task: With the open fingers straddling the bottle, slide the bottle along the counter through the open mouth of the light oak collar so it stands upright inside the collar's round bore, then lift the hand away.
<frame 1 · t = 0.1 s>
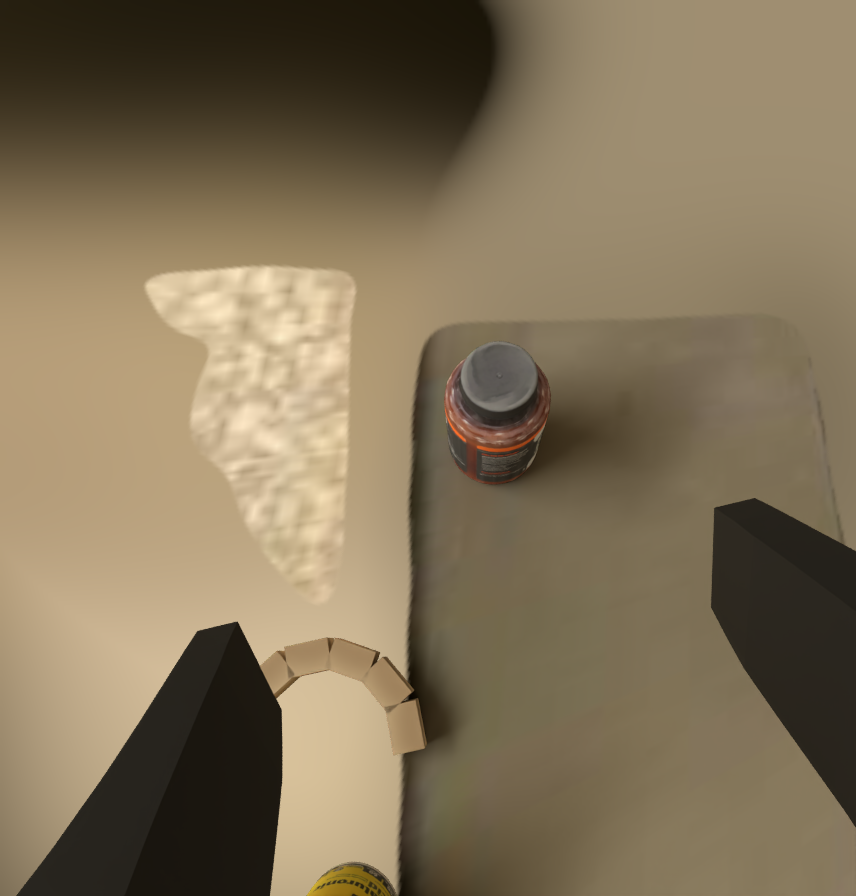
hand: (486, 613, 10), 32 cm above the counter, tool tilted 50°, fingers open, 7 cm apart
oak collar: (327, 741, 39), on the counter
supplement bottle 2: (492, 444, 44), on the counter
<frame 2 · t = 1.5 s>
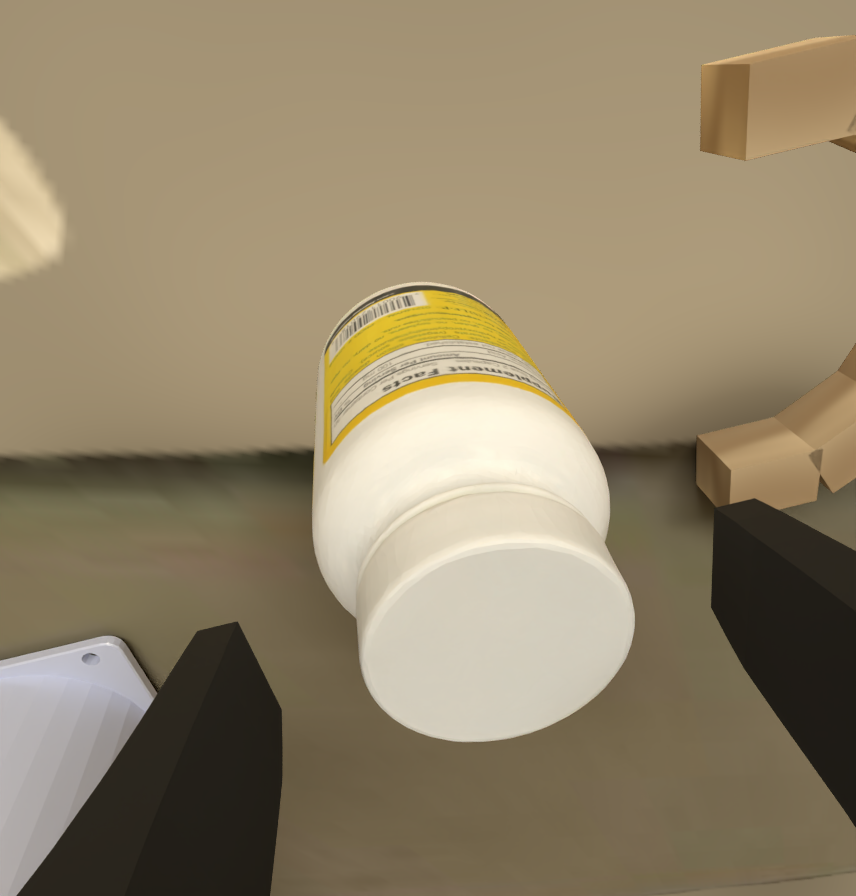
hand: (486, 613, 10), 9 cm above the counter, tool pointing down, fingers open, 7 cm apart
supplement bottle: (419, 372, 18), on the counter
oak collar: (745, 298, 18), on the counter
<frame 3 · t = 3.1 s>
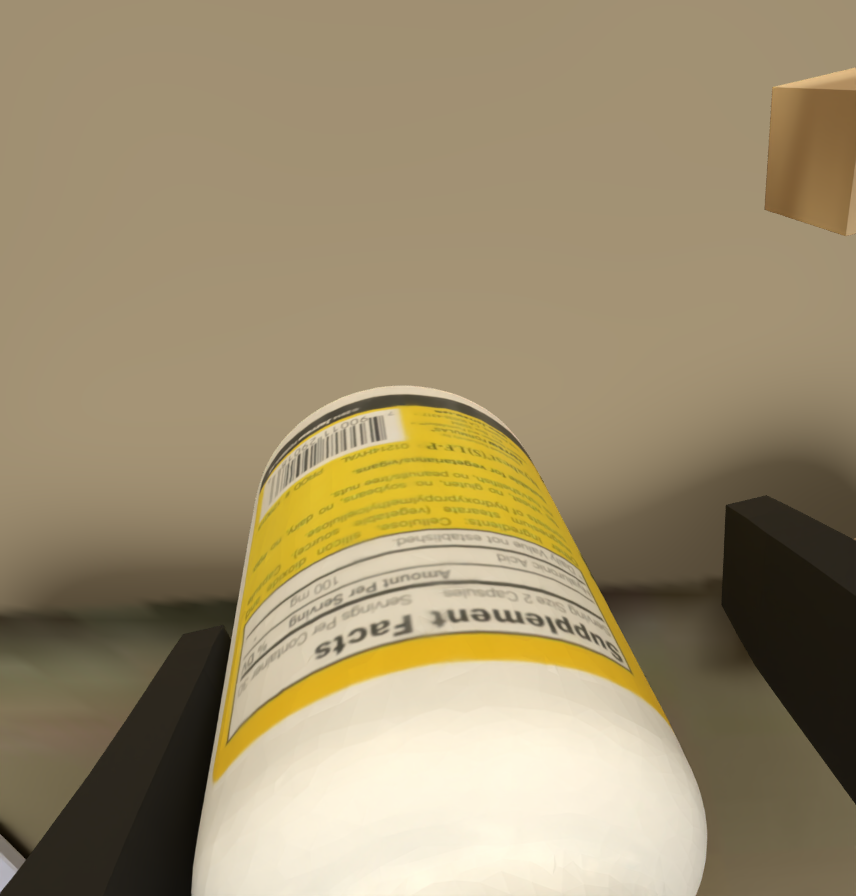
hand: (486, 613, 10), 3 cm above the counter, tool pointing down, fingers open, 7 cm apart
supplement bottle: (399, 496, 13), on the counter, touching gripper
oak collar: (815, 403, 13), on the counter
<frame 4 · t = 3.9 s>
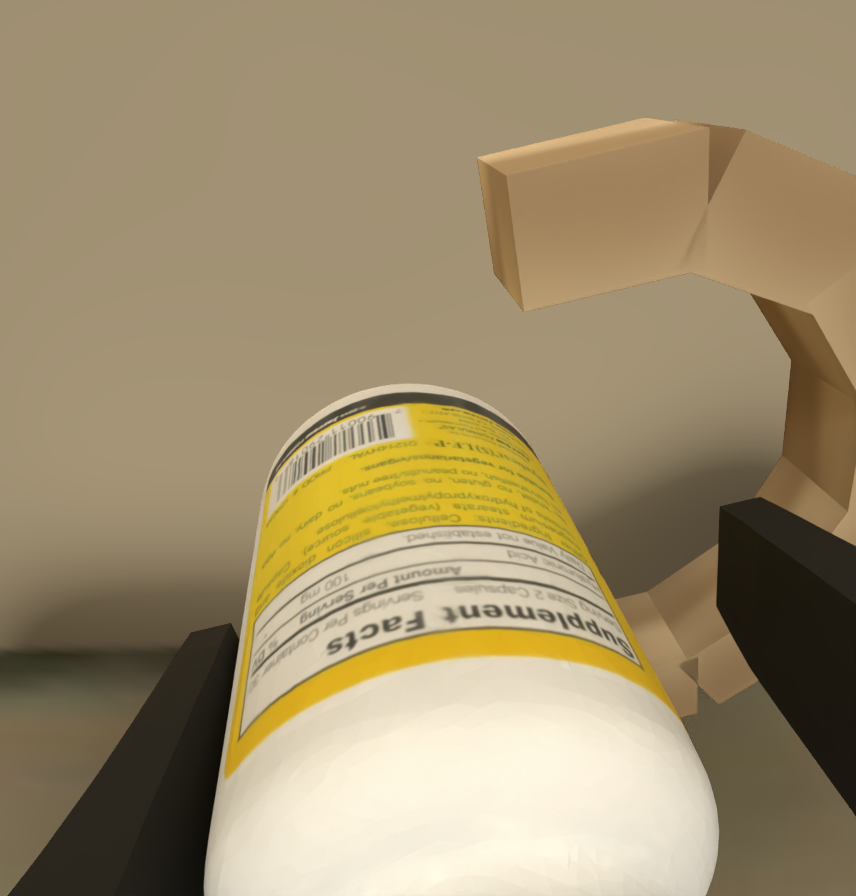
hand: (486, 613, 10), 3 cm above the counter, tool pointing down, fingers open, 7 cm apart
supplement bottle: (405, 494, 13), on the counter, touching gripper
oak collar: (588, 456, 13), on the counter
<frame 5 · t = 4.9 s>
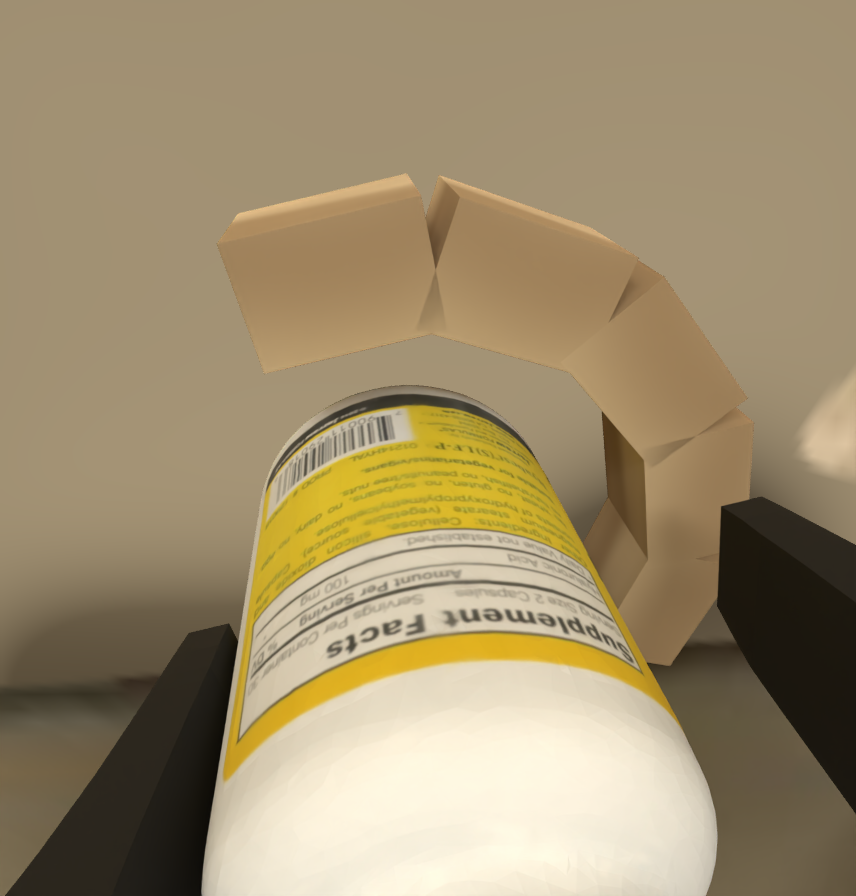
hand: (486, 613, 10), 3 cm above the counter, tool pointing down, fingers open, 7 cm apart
supplement bottle: (404, 495, 13), on the counter, touching gripper
oak collar: (405, 500, 13), on the counter
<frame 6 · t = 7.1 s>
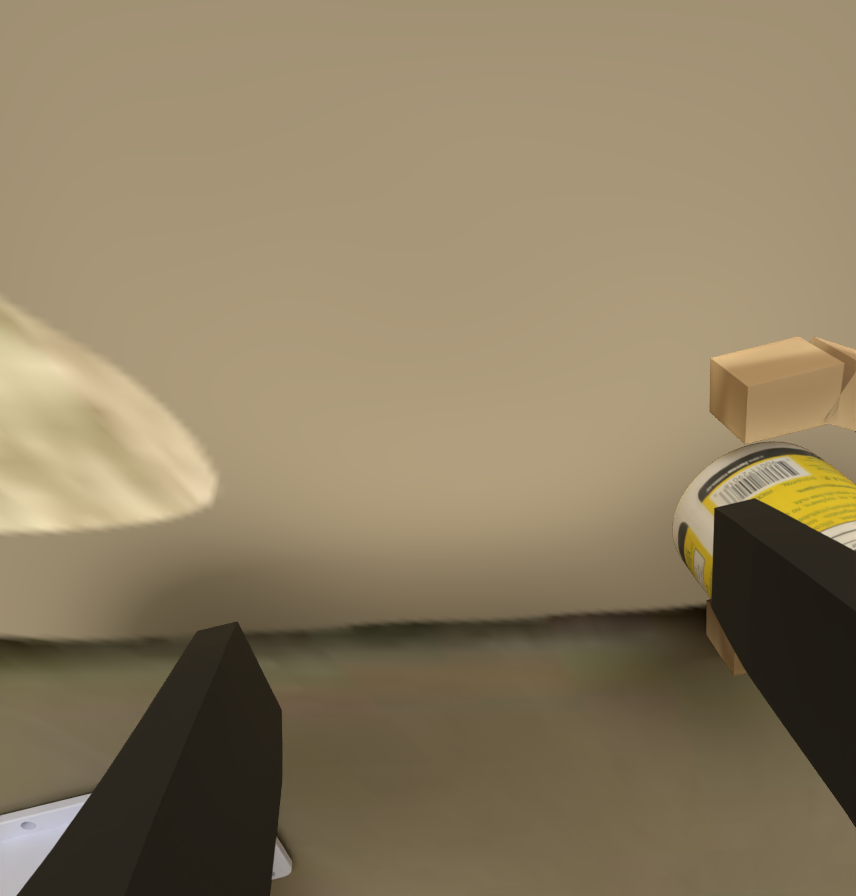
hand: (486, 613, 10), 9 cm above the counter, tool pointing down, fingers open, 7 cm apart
supplement bottle: (742, 502, 22), on the counter
oak collar: (745, 505, 22), on the counter
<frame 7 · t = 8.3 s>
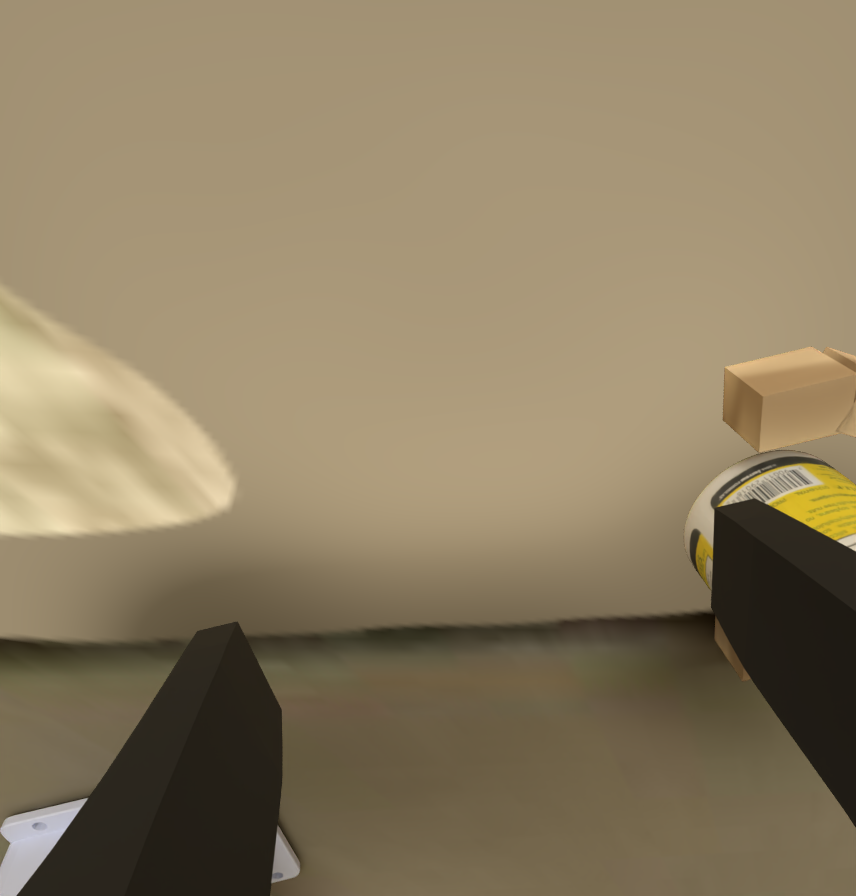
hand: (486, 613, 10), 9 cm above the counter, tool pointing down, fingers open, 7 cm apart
supplement bottle: (753, 509, 22), on the counter
oak collar: (756, 512, 22), on the counter
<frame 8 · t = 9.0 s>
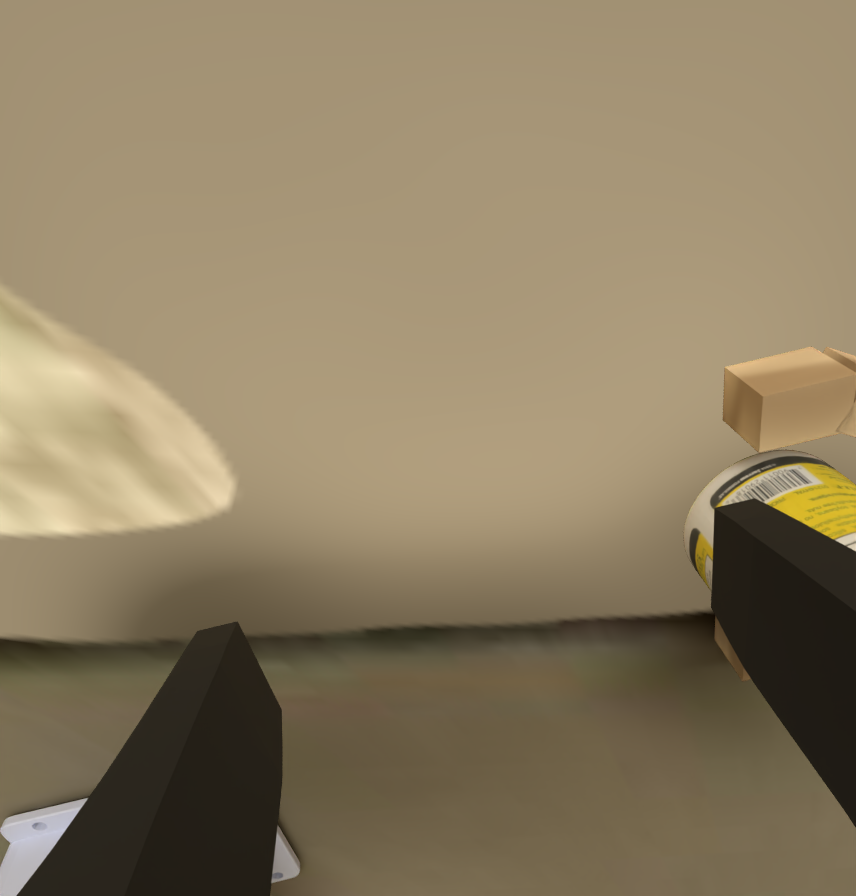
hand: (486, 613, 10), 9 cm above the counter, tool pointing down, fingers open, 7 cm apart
supplement bottle: (753, 509, 22), on the counter
oak collar: (756, 512, 22), on the counter
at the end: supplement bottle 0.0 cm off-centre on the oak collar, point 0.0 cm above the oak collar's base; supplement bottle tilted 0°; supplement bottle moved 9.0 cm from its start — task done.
